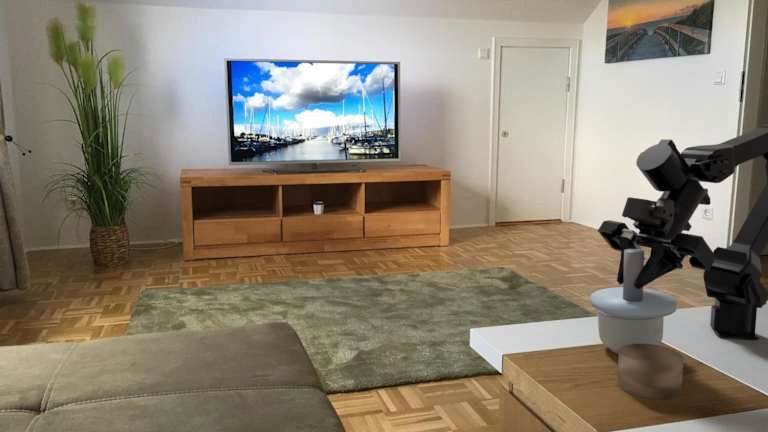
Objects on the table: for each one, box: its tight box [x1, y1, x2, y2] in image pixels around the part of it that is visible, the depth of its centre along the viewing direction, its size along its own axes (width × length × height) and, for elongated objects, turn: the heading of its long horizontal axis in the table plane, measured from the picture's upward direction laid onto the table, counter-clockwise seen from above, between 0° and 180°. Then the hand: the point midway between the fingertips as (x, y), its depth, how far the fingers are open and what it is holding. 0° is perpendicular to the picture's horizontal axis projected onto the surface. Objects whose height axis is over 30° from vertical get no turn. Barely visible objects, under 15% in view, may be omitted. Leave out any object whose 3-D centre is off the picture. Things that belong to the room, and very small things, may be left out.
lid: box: [590, 249, 678, 318], centre depth 103 cm, size 13×13×9 cm
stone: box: [617, 344, 684, 400], centre depth 97 cm, size 9×9×5 cm
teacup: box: [596, 309, 664, 355], centre depth 112 cm, size 14×11×8 cm
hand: (627, 285), depth 102 cm, fingers closed on lid, 3 cm apart
